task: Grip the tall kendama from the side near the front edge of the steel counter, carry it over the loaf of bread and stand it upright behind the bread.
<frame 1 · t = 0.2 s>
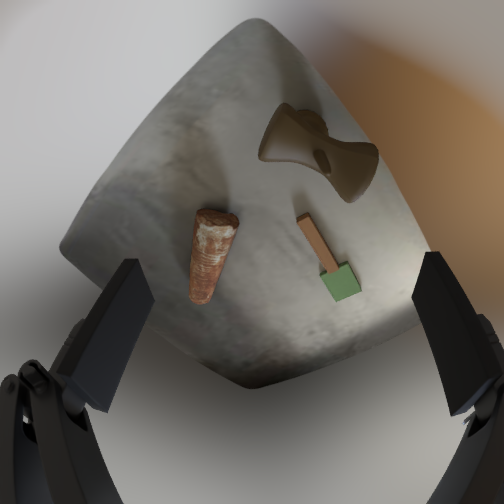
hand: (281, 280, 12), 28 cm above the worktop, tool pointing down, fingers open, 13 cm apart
kendama: (305, 127, 34), on the worktop
spatula: (328, 258, 45), on the worktop
bread: (213, 254, 47), on the worktop
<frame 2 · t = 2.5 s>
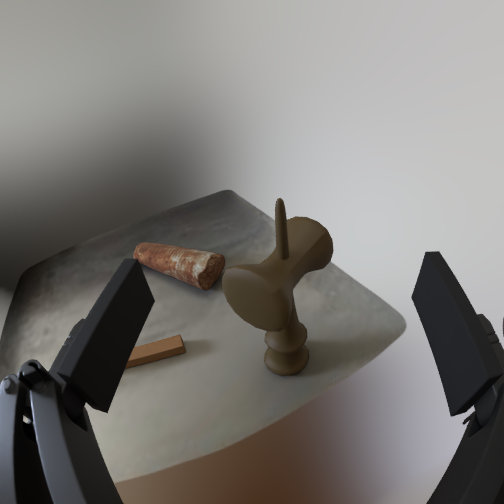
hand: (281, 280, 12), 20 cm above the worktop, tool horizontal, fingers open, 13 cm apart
kendama: (286, 360, 31), on the worktop
spatula: (121, 363, 32), on the worktop
bread: (174, 274, 47), on the worktop
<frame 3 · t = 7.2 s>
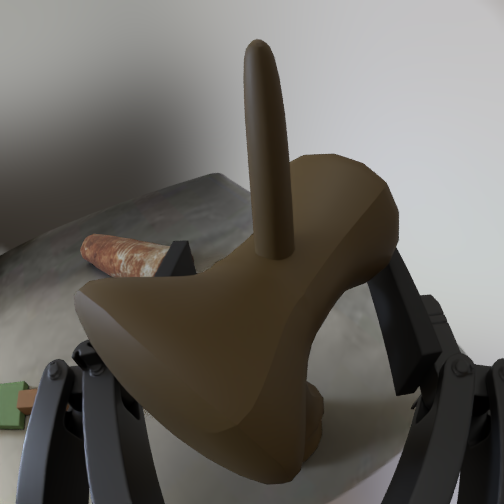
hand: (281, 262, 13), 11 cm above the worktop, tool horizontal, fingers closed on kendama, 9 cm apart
kendama: (282, 437, 16), on the worktop, touching gripper
spatula: (40, 405, 17), on the worktop
bread: (127, 279, 32), on the worktop
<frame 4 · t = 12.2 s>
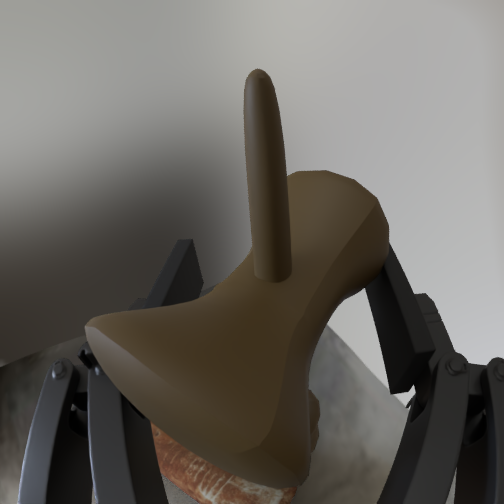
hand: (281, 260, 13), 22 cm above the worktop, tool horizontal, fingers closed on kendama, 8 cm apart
kendama: (280, 439, 16), point 10 cm above the worktop, touching gripper
bread: (200, 479, 21), on the worktop
when the fingers open (12 cm above the worktop, at t = 16.6 s): kendama stays where it is, on the worktop.
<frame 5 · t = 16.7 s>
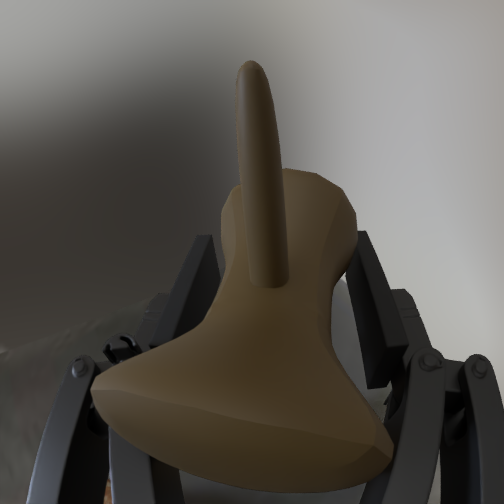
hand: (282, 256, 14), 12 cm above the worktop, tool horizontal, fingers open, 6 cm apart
kendama: (280, 446, 16), on the worktop
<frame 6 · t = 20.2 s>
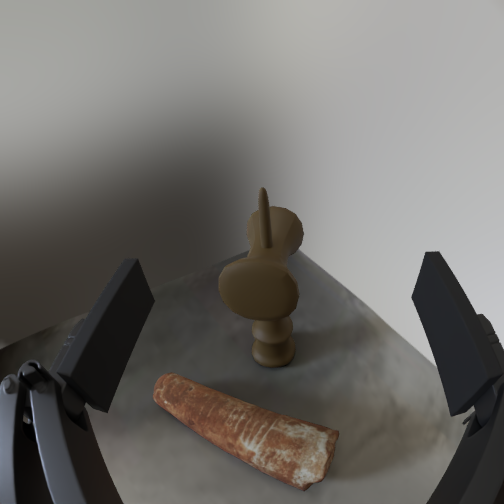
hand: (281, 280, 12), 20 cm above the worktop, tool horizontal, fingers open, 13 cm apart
kendama: (274, 353, 32), on the worktop
bread: (234, 437, 23), on the worktop
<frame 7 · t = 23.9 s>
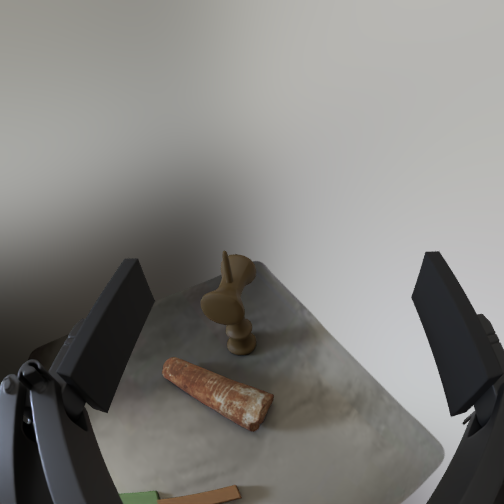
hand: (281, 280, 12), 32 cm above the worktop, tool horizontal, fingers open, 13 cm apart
kendama: (242, 346, 48), on the worktop
bread: (212, 399, 39), on the worktop
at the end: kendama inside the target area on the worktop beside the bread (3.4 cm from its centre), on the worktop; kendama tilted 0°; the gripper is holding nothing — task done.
